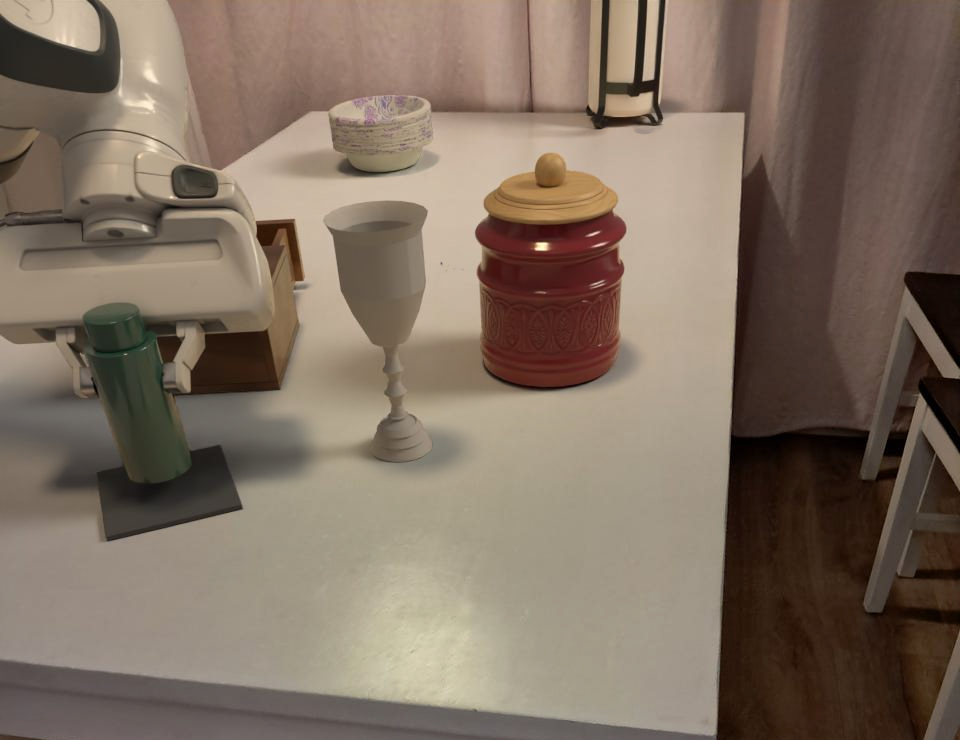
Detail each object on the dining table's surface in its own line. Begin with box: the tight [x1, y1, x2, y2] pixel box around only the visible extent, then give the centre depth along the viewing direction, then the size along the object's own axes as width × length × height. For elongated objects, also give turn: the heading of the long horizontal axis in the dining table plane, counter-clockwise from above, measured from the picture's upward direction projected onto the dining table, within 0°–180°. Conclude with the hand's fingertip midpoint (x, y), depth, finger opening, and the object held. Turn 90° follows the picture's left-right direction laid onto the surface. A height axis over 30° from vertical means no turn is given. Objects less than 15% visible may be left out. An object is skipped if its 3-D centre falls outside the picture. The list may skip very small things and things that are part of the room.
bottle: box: [82, 302, 192, 484], centre depth 67 cm, size 5×5×12 cm
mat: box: [95, 444, 243, 542], centre depth 72 cm, size 10×10×1 cm
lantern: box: [585, 0, 670, 129], centre depth 144 cm, size 17×16×30 cm
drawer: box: [255, 218, 306, 290], centre depth 98 cm, size 17×11×6 cm, turn 1°
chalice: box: [322, 200, 433, 463], centre depth 70 cm, size 7×7×18 cm
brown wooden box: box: [157, 245, 300, 396], centre depth 87 cm, size 15×13×8 cm
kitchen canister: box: [474, 152, 628, 388], centre depth 81 cm, size 13×13×18 cm
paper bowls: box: [327, 94, 434, 173], centre depth 138 cm, size 15×15×8 cm
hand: (133, 393), depth 66 cm, fingers closed on bottle, 5 cm apart
